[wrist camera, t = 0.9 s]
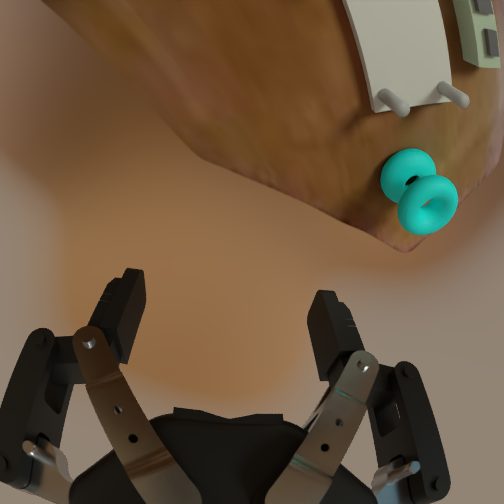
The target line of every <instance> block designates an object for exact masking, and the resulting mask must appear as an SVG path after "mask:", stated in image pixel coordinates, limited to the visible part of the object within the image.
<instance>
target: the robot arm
mask: <svg viewBox="0 0 504 504" xmlns="http://www.w3.org/2000/svg"><path fill="white" fill-rule="evenodd" d="M145 304H146V289H145V279H144V272H143V270H139V269H132V268H127V269H126V270H125V272H124V274H123V276H122V278H114V279H113V280H112V281H111V282H109V283H108V284H107V286H106V288H105V290H104V292H103V294H102V296H101V298H100V301H99V302H98V304H97V306H96V308H95V310H94V312H93V314H92V316H91V319H90V321H89V323H88V325H87V326H85V327H82V328H80V329H79V330H77V331H76V333H75V334H74V335H73V336H63V337H55V336H54V334H53V332H52V331H51V330H49V329H47V328H39V329H36V330H34V331H33V332H32V333H31V334H30V335H29V336H28V338H27V340H26V343H25V345H24V347H23V349H22V351H21V354H20V356H19V358H18V361H17V363H16V366H15V368H14V371H13V373H12V376H11V378H10V381H9V384H8V387H7V389H6V392H5V395H4V398H3V401H2V404H1V408H0V481H1V482H3V483H5V484H8V485H10V486H12V487H13V488H15V489H18V490H21V491H23V492H26V493H29V494H33V495H37V496H39V497H42V498H44V499H46V500H48V501H51V502H53V503H56V504H430V503H433V502H436V501H439V500H441V499H442V498H444V497H445V496H446V495H447V494H448V492H449V490H450V485H451V481H450V475H449V471H448V467H447V462H446V458H445V454H444V450H443V446H442V442H441V439H440V435H439V431H438V428H437V424H436V421H435V418H434V415H433V411H432V408H431V405H430V402H429V399H428V396H427V393H426V391H425V388H424V385H423V382H422V379H421V377H420V374H419V371H418V370H417V368H416V367H415V366H414V365H413V364H411V363H410V362H406V361H401V362H399V363H398V364H397V365H396V366H395V367H389V366H386V365H382V364H379V363H378V361H377V359H376V358H375V357H374V356H373V355H372V354H371V353H369V352H366V351H365V349H364V346H363V343H362V340H361V338H360V335H359V333H358V330H357V327H355V326H356V325H355V322H354V321H353V317H352V315H351V312H350V310H349V309H348V308H347V306H346V305H345V304H344V303H343V302H339V301H338V298H337V296H336V293H335V292H334V291H327V290H318V291H317V293H316V295H315V298H314V300H313V303H312V305H311V308H310V310H309V312H308V316H307V325H308V330H309V334H310V338H311V343H312V347H313V351H314V356H315V360H316V365H317V369H318V374H319V379H320V381H329V385H330V386H329V387H328V388H327V390H326V392H325V393H324V395H323V397H322V398H321V400H320V401H319V403H318V405H317V406H316V408H315V410H314V411H313V413H312V414H311V416H310V417H309V419H308V420H307V421H306V423H305V424H304V425H303V427H302V428H301V427H299V426H298V425H295V424H293V423H290V422H287V421H284V420H283V414H254V415H249V416H244V417H238V418H232V419H227V418H223V417H220V416H216V415H214V414H210V413H207V412H204V411H201V410H193V409H185V408H177V407H174V411H173V413H172V414H165V415H161V416H158V417H155V418H153V419H151V420H149V421H148V419H147V418H146V416H145V414H144V413H143V411H142V409H141V407H140V405H139V404H138V402H137V400H136V398H135V397H134V395H133V393H132V391H131V389H130V387H129V385H128V383H127V381H126V379H125V378H124V376H123V374H122V372H121V371H120V369H119V364H120V363H123V364H127V363H128V360H129V356H130V353H131V350H132V346H133V343H134V340H135V337H136V333H137V330H138V327H139V324H140V321H141V317H142V315H143V312H144V308H145ZM74 384H86V390H87V393H88V395H89V398H90V400H91V402H92V405H93V407H94V409H95V412H96V414H97V416H98V418H99V421H100V423H101V425H102V427H103V429H104V431H105V433H106V435H107V437H108V439H109V441H110V443H111V445H112V447H113V450H111V451H110V452H109V453H108V454H106V455H105V456H104V457H103V458H101V459H100V460H99V461H98V462H96V463H95V464H94V465H92V466H91V467H90V468H88V469H87V470H86V471H84V472H83V473H82V474H80V475H79V476H78V477H77V478H76V479H75V480H74V481H73V480H72V479H71V477H70V475H69V472H68V462H67V459H66V457H65V455H64V453H63V452H62V451H61V450H59V447H60V442H61V437H62V431H63V427H64V422H65V417H66V413H67V409H68V405H69V401H70V397H71V393H72V390H73V386H74ZM396 404H397V407H396ZM397 408H398V410H397ZM366 410H368V414H369V419H370V423H371V429H372V434H373V439H374V445H375V450H376V456H377V462H378V468H379V469H378V470H377V471H376V472H375V474H374V477H373V481H372V483H371V485H372V489H370V488H368V487H367V486H366V485H365V484H364V483H363V482H361V481H360V480H359V479H358V478H357V477H355V476H354V475H353V474H352V473H351V472H350V471H349V470H347V469H346V468H345V467H344V466H343V465H342V464H341V461H342V459H343V458H344V456H345V454H346V452H347V450H348V448H349V446H350V444H351V442H352V440H353V438H354V436H355V434H356V432H357V430H358V428H359V425H360V424H361V421H362V419H363V417H364V415H365V413H366ZM398 411H399V414H398ZM399 416H400V418H399Z"/></svg>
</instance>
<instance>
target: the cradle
mask: <svg viewBox="0 0 504 504" xmlns="http://www.w3.org/2000/svg"><path fill="white" fill-rule="evenodd" d="M342 2H343V5H344V8H345V10H346V13H347V16H348V19H349V22H350V25H351V28H352V31H353V35H354V38H355V41H356V45H357V48H358V52H359V56H360V60H361V63H362V67H363V72H364V76H365V80H366V85H367V89H368V94H369V99H370V104H371V109H372V110H373V111H374V112H375V113H378V112H383V111H388V110H392V111H393V112H395V113H396V114H397V115H398V116H400V117H405V116H407V115H408V114H409V112H410V107H412V106H418V105H425V104H433V103H441V102H450V101H452V102H454V103H455V104H457V105H458V106H460V107H461V108H466V107H467V106H468V105H469V97H468V96H467V95H466V94H464V93H463V92H461V91H460V90H458V89H456V88H455V87H453V86H452V82H451V71H450V62H449V54H448V47H447V41H446V35H445V30H444V25H443V20H442V16H441V11H440V7H439V3H438V0H342Z"/></svg>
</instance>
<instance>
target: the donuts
mask: <svg viewBox="0 0 504 504" xmlns="http://www.w3.org/2000/svg"><path fill="white" fill-rule="evenodd" d="M416 175H417V178H416V179H415V180H414V181H413V182H412V183H410V184H408V185H405V184H406V181H407V180H408V179H409V178H410V177H412V176H416ZM380 182H381V187H382V190H383V192H384V194H385V195H386V196H387V197H388V198H389V199H390V200H392V201H393V202H396V203H399V204H398V218H399V221H400V223H401V225H402V226H403V228H404V229H405V230H407V231H408V232H410V233H412V234H416V235H426V234H430V233H433V232H435V231H437V230H439V229H440V228H442V227H443V226H444V225H446V224H447V223H448V221H449V220H450V219H451V218H452V216H453V214H454V213H455V210H456V208H457V204H458V195H457V191H456V188H455V186H454V185H453V183H452V182H451V181H450V180H448V179H447V178H445V177H443V176H440V175H436V169H435V165H434V162H433V160H432V159H431V157H430V156H429V155H428V154H427V153H425V152H423V151H421V150H419V149H404V150H401V151H399V152H397V153H395V154H394V155H393V156H392V157H390V158H389V160H388V161H387V162H386V164H385V165H384V167H383V169H382V173H381V178H380ZM430 199H431V201H430V202H429V203H428V204H427V205H425V206H422V205H423V204H424V203H425V202H427V201H428V200H430Z"/></svg>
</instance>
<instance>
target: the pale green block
mask: <svg viewBox="0 0 504 504" xmlns="http://www.w3.org/2000/svg"><path fill="white" fill-rule="evenodd" d="M452 1H453V5H454V9H455V14H456V18H457V23H458V28H459V34H460V40H461V47H462V54H463V60H465V61H467V62H469V63H471V64H473V65H475V66H477V67H487V68H501V66H500V53H499V43H498V35H497V28H496V22H495V16H494V11H493V6H492V2H491V0H452Z"/></svg>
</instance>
